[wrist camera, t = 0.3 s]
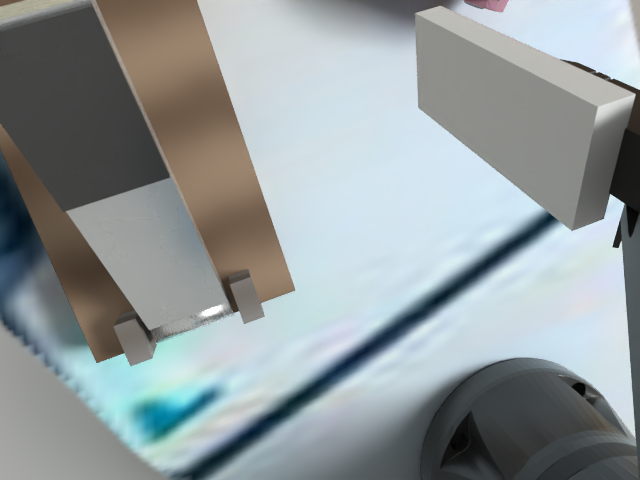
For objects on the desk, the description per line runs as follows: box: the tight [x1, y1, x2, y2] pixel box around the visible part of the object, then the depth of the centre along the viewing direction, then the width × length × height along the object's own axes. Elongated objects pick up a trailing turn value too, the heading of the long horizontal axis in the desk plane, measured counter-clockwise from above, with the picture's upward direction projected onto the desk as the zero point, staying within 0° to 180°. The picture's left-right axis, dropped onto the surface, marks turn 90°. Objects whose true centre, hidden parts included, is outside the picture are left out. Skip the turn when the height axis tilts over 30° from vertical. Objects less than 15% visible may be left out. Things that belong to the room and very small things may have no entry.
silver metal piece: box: [0, 0, 234, 343], centre depth 22 cm, size 18×4×2 cm
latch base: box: [0, 0, 295, 366], centre depth 28 cm, size 22×12×6 cm, turn 18°
